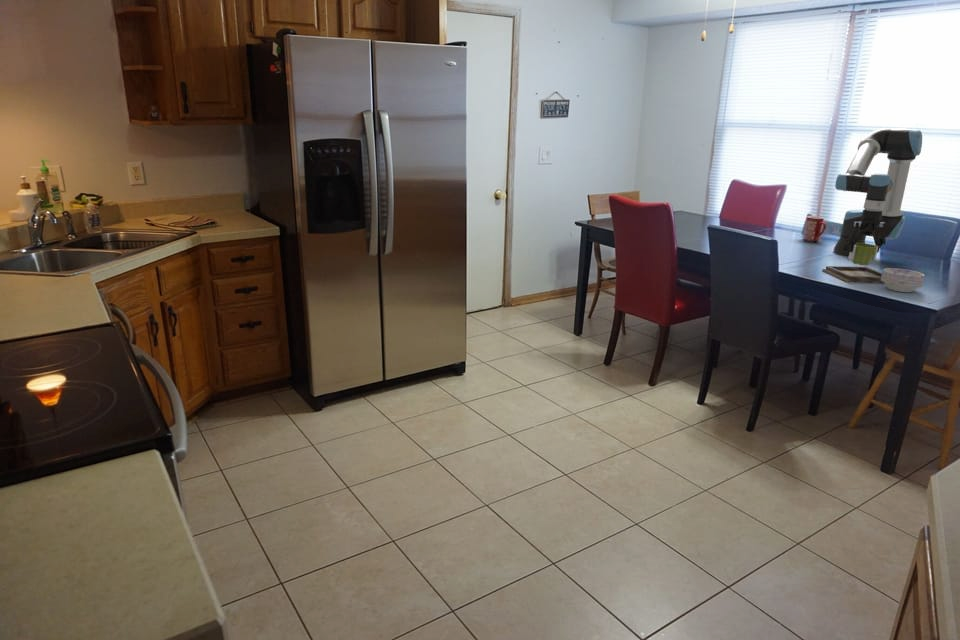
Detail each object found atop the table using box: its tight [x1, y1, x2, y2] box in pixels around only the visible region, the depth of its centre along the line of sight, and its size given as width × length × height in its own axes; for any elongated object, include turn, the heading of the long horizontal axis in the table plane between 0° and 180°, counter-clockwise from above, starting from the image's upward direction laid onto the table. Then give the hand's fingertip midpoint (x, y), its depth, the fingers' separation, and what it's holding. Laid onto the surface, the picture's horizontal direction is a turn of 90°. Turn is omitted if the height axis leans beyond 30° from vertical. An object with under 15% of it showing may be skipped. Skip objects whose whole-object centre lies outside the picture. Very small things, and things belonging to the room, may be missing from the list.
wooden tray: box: [821, 265, 885, 284], centre depth 289 cm, size 22×20×2 cm
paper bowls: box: [881, 267, 926, 293], centre depth 269 cm, size 15×15×8 cm
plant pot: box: [852, 243, 877, 266], centre depth 286 cm, size 9×9×9 cm
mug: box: [803, 215, 827, 242], centre depth 364 cm, size 13×9×14 cm
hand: (861, 259), depth 287 cm, fingers closed on plant pot, 9 cm apart
